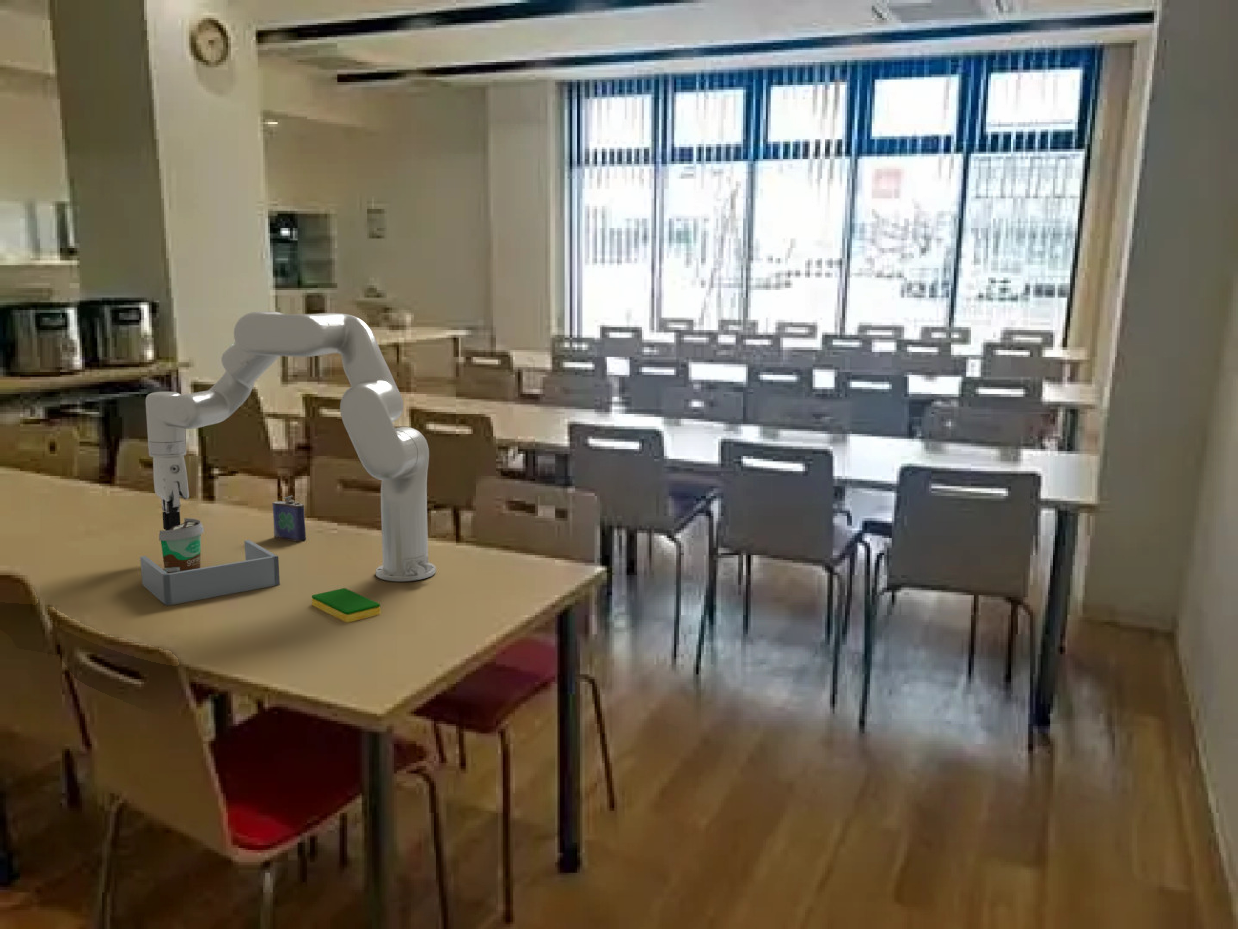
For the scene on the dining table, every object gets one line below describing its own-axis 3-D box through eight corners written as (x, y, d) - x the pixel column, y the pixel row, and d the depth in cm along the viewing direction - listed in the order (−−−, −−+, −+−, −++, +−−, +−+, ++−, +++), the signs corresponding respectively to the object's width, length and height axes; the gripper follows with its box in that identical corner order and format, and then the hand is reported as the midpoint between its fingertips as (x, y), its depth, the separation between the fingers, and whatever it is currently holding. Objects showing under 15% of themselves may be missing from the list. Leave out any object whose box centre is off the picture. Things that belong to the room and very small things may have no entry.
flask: (271, 538, 236) (269, 495, 234) (280, 535, 239) (278, 493, 237) (301, 542, 232) (299, 499, 230) (309, 539, 235) (307, 496, 233)
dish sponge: (345, 599, 191) (344, 587, 191) (381, 616, 182) (381, 603, 181) (311, 607, 186) (310, 594, 186) (347, 624, 177) (346, 612, 176)
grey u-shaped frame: (279, 584, 199) (278, 556, 198) (166, 605, 185) (164, 575, 184) (250, 566, 212) (249, 539, 211) (142, 584, 198) (140, 556, 197)
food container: (190, 577, 203) (187, 531, 201) (161, 577, 203) (158, 531, 201) (216, 561, 215) (213, 517, 213) (188, 561, 215) (185, 517, 214)
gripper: (195, 451, 209) (200, 533, 212) (175, 442, 220) (179, 520, 224) (158, 454, 204) (163, 538, 208) (139, 444, 215) (144, 524, 219)
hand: (172, 529), depth 216 cm, fingers closed
